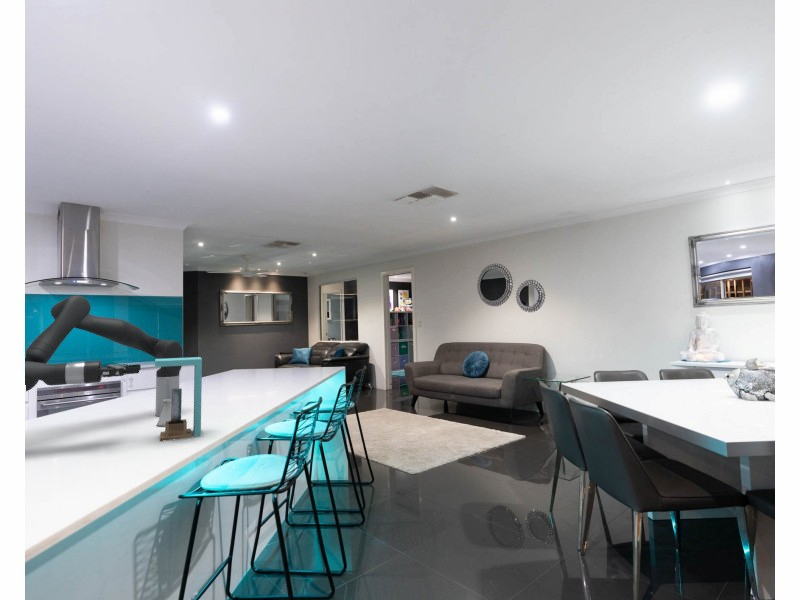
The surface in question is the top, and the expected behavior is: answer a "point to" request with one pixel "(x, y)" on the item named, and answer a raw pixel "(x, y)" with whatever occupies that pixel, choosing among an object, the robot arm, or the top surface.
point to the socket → (175, 431)
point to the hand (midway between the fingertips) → (139, 368)
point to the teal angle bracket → (197, 384)
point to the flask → (165, 413)
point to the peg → (176, 405)
